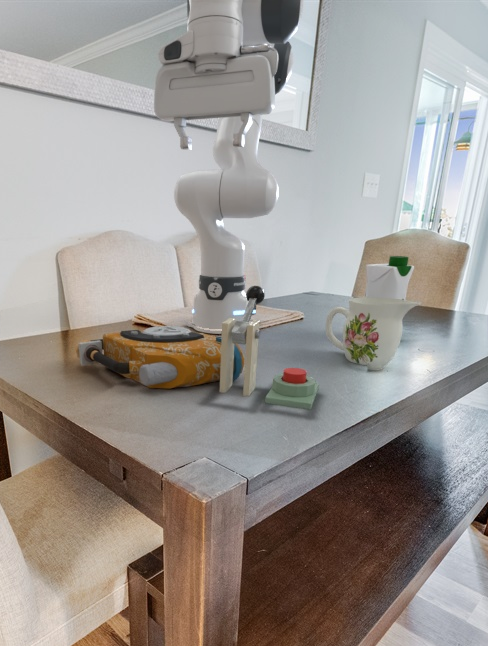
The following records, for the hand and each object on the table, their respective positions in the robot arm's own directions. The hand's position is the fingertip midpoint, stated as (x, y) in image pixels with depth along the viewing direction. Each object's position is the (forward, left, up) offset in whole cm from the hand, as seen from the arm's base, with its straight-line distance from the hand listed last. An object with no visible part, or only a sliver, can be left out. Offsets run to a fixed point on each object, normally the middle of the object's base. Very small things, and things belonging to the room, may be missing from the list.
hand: (211, 147), depth 78 cm
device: (+8, -8, -40) cm, 41 cm away
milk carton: (-40, +32, -39) cm, 64 cm away
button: (+12, +19, -36) cm, 42 cm away
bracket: (+13, +10, -39) cm, 43 cm away
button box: (+12, +19, -39) cm, 45 cm away
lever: (+8, +10, -27) cm, 30 cm away
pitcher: (-15, +29, -39) cm, 51 cm away
